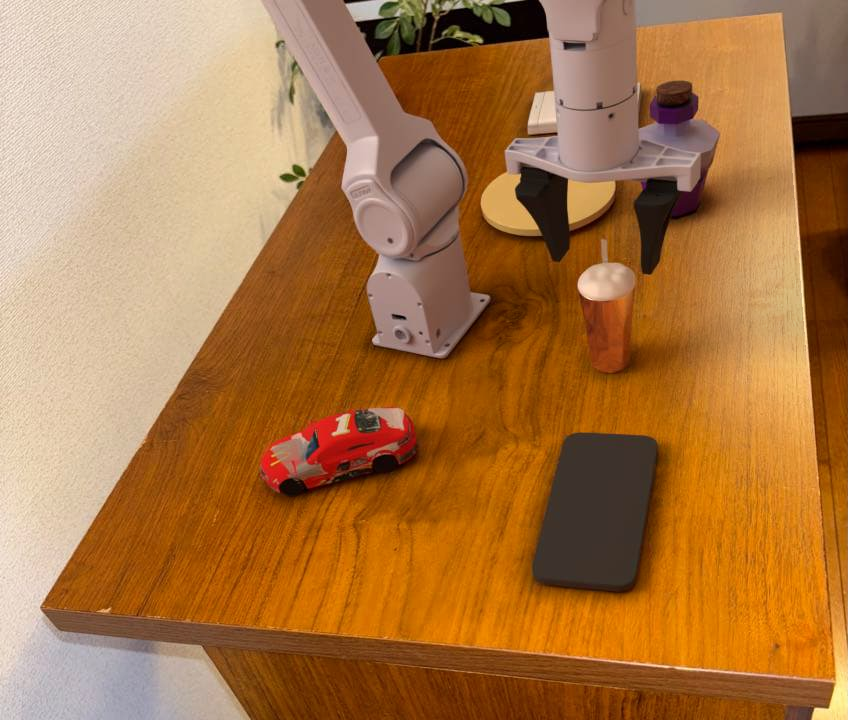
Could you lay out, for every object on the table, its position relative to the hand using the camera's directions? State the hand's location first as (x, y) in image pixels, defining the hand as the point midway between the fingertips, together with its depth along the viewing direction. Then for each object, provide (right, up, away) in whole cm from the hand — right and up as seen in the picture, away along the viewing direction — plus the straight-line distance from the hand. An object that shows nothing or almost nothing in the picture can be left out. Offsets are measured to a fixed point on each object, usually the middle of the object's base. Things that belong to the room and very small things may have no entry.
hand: (605, 261), depth 78 cm
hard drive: (+5, +27, +37) cm, 46 cm away
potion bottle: (+11, +11, +21) cm, 26 cm away
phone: (-1, -20, -5) cm, 21 cm away
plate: (-1, +13, +25) cm, 28 cm away
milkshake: (+2, -7, +7) cm, 10 cm away
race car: (-21, -16, +4) cm, 27 cm away
